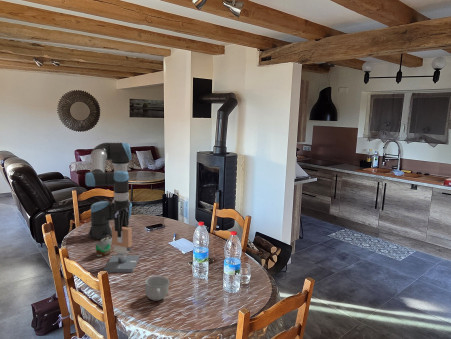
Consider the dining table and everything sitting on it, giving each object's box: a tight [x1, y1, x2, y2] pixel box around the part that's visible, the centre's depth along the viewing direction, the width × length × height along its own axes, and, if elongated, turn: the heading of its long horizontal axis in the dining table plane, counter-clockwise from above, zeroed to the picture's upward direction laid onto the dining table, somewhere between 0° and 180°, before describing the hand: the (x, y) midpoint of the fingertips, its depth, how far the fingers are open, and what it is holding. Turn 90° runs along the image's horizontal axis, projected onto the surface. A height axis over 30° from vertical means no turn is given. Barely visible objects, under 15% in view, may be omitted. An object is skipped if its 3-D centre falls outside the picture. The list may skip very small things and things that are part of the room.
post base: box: [103, 252, 140, 273], centre depth 176 cm, size 17×15×8 cm
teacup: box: [144, 275, 170, 301], centre depth 145 cm, size 14×11×8 cm
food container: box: [94, 235, 112, 258], centre depth 189 cm, size 12×6×10 cm, turn 168°
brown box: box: [111, 225, 133, 254], centre depth 175 cm, size 11×8×13 cm
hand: (122, 240), depth 175 cm, fingers closed on brown box, 4 cm apart
